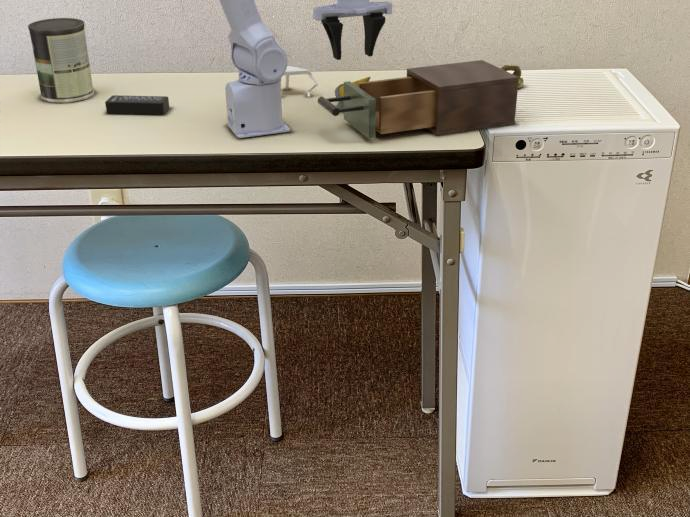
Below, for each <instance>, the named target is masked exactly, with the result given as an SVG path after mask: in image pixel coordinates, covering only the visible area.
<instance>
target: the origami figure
mask: <svg viewBox="0 0 690 517" xmlns="http://www.w3.org/2000/svg"><path fill="white" fill-rule="evenodd" d="M296 75H297V76H298V75H308V76H309V78H310V79H311V80H312V82H313V84H314V85H312V86H311V87H310V88H309V89H308V90H307V91H306V93H307V97H308V98H310V97H311V91H313V90H314V89H316V88H317V87H318V85H319V83H318V82H317V80H316V78H315V76H314V75H313V74H312V72H311V71H310V70H309V69H305V68H302V67H299V66H298V67H297V66H291V65H287V68H286V71H285V73H284V74H283V76H285V90H289V89H290V88H289V86H290V76H296ZM282 94H284V93H283V91H282V90H281V95H282Z"/></svg>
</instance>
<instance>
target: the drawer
mask: <svg viewBox="0 0 690 517" xmlns="http://www.w3.org/2000/svg"><path fill="white" fill-rule="evenodd" d="M352 82H353V81H350V80H348V81H343V84H344V96H343V97H335V96H334V97H327V98H326V97H325V96H319V97H318V98H317V103H318V104H319V105H320V106H321V107H322V108H323V109H324V110H326V111H327V112H328V113H330V115H332V116H333V117H337V116H339V115H340V114H342V113H343V120H344V121H345V122H347V123H348V124H349V125H350V126H352V127H353V128H354V129H355V130H356V131H358V132H359V133H360V134H362V135H363V136H364V137H365V138H367V140H372V139H376V132H377V133H379V134H380V135H385V134H392V133H399V132H407V131H414V130H421V129H426V128H429V127H435V121H436V100H437V90H436V89H434V88H432V87H430V86H429V85H427V84H425V83H423V82H422V81H420V80H418V79H416V78H415V77H413V76H410V77H407V76H403V77H395V78H393V77H392V78H386V79H377V80H369V81H368V82H359V83H358V87H357V86H356V85H354V84H353V83H352ZM338 101H344V108H339V109H338V108H337V105H335V104H333V103H338Z"/></svg>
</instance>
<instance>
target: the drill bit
mask: <svg viewBox="0 0 690 517" xmlns="http://www.w3.org/2000/svg"><path fill="white" fill-rule="evenodd" d="M368 81H371V76H366V77H364V78H361V79H359V80H356V81H351V82H352V83H353V84H354V85H356V86H357V87H358V83H359V82H368ZM343 96H344V83H341V84H339V85H338V86H337V87H336V88H335V90H334V98H335V97H343ZM336 107H337V108H338V109H339V108H344V101H337V104H336Z"/></svg>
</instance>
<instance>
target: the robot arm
mask: <svg viewBox="0 0 690 517" xmlns="http://www.w3.org/2000/svg"><path fill="white" fill-rule="evenodd" d="M218 1H219V3H220V5H221V9H222V10H223V13H224V15H225V17H226V21H227V23H228V25H229V27H230V31H229V34H228V35H227V39H228V41H229V45H230V59H231V62H232V64H233V66H234V67H235V68H236V69H237V70H238V71H237V72H238V79H236V80H234V81H229V82H227V83H226V84H225V103H226V104H225V105H226V118H227V122H226V125H227V127H228V128H229V129H230V130H231V132H232V133H233V134H234V135H235V137H237V139H244V138H251V137H259V136H265V135H266V136H268V135H274V134H281V133H289V132H291V128H290V127H289V126H288V125H287V124H286V123H285V122H284V121H283V101H282V98H283V97H282V94H281V91H282V77H283V76H284V75H283V74H284V73H285V71H286V68H287V66H288V56H287V53H286V51H285V49H283V47H282V46H280V45H279V44H278V43H277V41H276V39H275V35H274V34H273V33H272V31H271V30H270V29H269V28H268V27H267V25H266V24H265V23H264V22H263V20H262V17H261V14H260V11H259V9H258V7H257V4H256V1H255V0H218ZM385 14H386V15H392V14H393V3H392V2H390V1H370V0H336V3H334V4H327V5H323V6H315V7H312V19H313V20H314V21H316V22H318V21H320V23H321V25H322V26H323V28H324V31H325V33H326V36H327V38H328V40H329V43H330V47H331V51H332V57H333V59H335V60H336V61H340V60H341V61H342V36H343V29H344V28H343V27H344V24H343V23H342V22H341V19H342V18H352V17H354V18H355V17H362V21H363V30H364V48H363V49H364V55H365V56H367V57H370V58H371V57H373V55H374V51H375V47H376V44H377V40H378V37H379V35H380V33H381V31H382V29H383V27H384V25H385V24H386V16H384V15H385ZM340 18H341V19H340Z"/></svg>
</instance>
